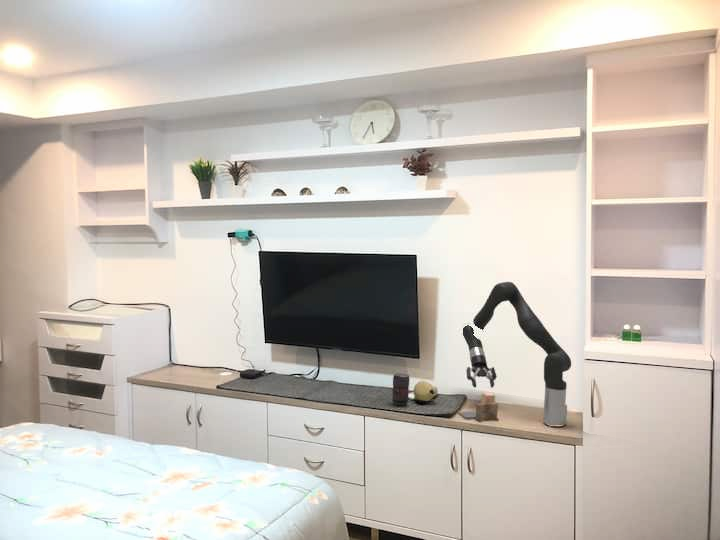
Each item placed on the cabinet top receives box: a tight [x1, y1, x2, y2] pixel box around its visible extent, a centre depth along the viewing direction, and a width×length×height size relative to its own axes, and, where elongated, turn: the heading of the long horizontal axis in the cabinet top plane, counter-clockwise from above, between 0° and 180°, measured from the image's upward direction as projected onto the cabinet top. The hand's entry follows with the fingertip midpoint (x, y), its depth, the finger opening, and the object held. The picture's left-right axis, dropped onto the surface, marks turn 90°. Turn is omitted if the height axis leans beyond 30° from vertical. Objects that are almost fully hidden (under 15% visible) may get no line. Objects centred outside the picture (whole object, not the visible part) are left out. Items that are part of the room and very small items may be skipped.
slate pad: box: [457, 410, 476, 420], centre depth 279 cm, size 8×8×1 cm
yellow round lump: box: [413, 380, 439, 402], centre depth 298 cm, size 10×12×11 cm
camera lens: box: [391, 372, 410, 408], centre depth 292 cm, size 8×8×15 cm
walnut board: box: [474, 402, 499, 423], centre depth 274 cm, size 10×4×8 cm, turn 106°
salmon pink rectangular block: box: [480, 392, 496, 404], centre depth 282 cm, size 4×4×10 cm
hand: (483, 386), depth 288 cm, fingers open, 8 cm apart
